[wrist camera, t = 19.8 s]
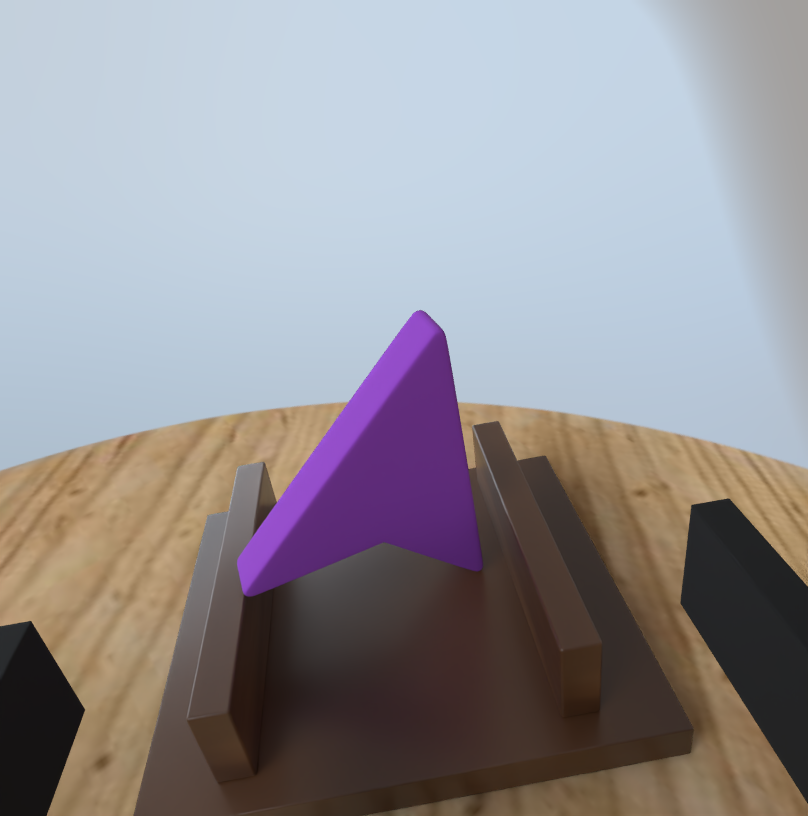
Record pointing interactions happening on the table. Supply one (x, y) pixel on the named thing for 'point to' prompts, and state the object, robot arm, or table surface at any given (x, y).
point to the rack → (406, 666)
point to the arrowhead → (378, 474)
